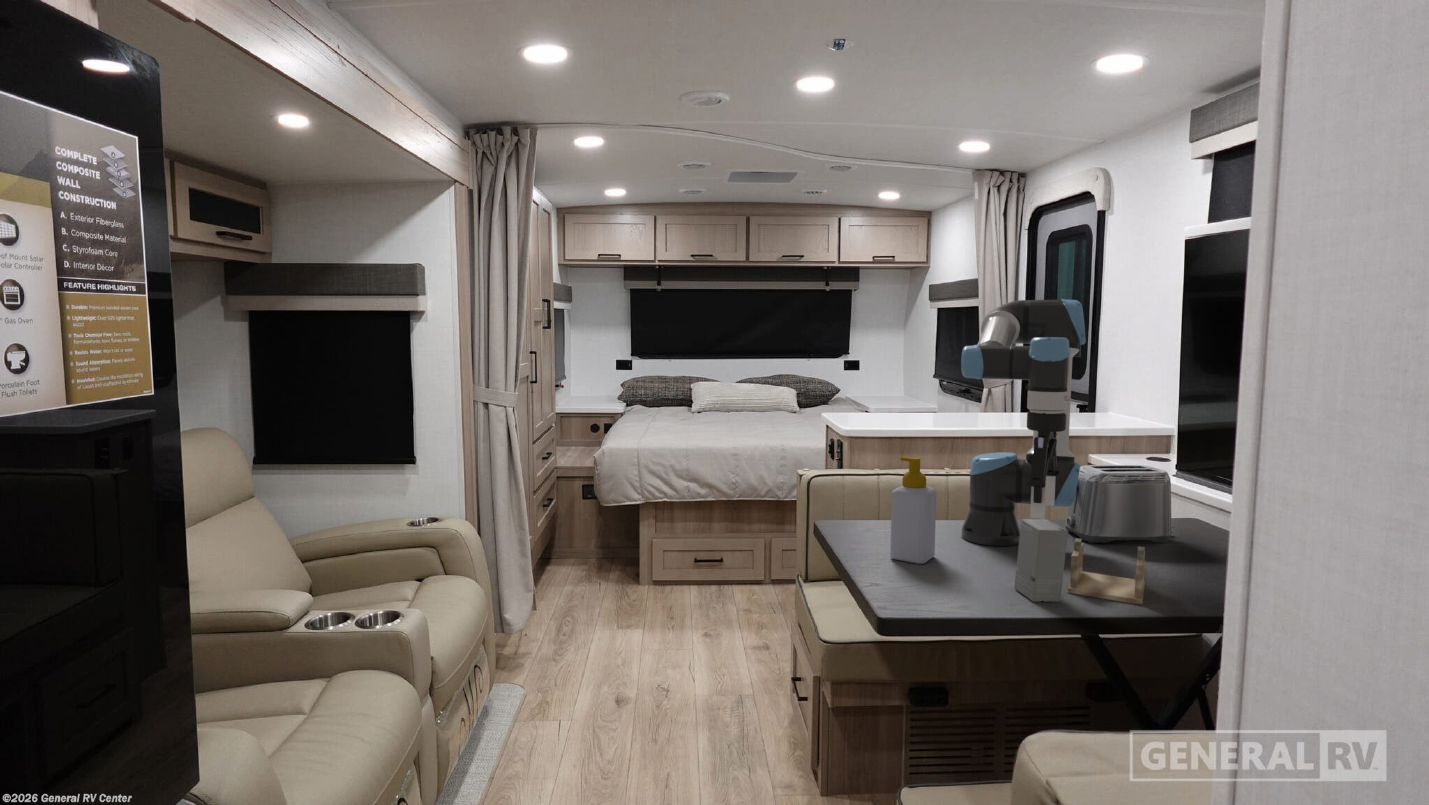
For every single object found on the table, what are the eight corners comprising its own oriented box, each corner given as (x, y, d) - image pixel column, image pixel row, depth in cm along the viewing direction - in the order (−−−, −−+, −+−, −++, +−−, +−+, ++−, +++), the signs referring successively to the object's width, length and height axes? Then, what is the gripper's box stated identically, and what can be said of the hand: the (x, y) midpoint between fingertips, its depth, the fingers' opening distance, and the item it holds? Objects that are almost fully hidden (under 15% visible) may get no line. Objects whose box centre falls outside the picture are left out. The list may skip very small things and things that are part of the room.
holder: (1067, 592, 162) (1069, 547, 161) (1075, 574, 174) (1077, 532, 173) (1142, 605, 155) (1144, 557, 154) (1144, 585, 167) (1147, 541, 166)
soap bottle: (901, 550, 193) (904, 454, 191) (936, 556, 188) (939, 457, 185) (888, 559, 186) (890, 459, 183) (923, 566, 181) (926, 462, 178)
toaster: (1053, 528, 214) (1056, 462, 212) (1159, 529, 213) (1163, 463, 211) (1080, 545, 197) (1083, 474, 196) (1195, 546, 196) (1199, 474, 194)
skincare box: (1013, 589, 164) (1016, 518, 163) (1044, 588, 165) (1047, 517, 163) (1033, 603, 156) (1036, 528, 154) (1066, 602, 157) (1069, 527, 155)
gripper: (1058, 418, 144) (1053, 526, 146) (1073, 407, 165) (1069, 502, 167) (1016, 415, 148) (1012, 521, 150) (1036, 405, 169) (1033, 498, 171)
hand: (1042, 511), depth 159 cm, fingers open, 13 cm apart
